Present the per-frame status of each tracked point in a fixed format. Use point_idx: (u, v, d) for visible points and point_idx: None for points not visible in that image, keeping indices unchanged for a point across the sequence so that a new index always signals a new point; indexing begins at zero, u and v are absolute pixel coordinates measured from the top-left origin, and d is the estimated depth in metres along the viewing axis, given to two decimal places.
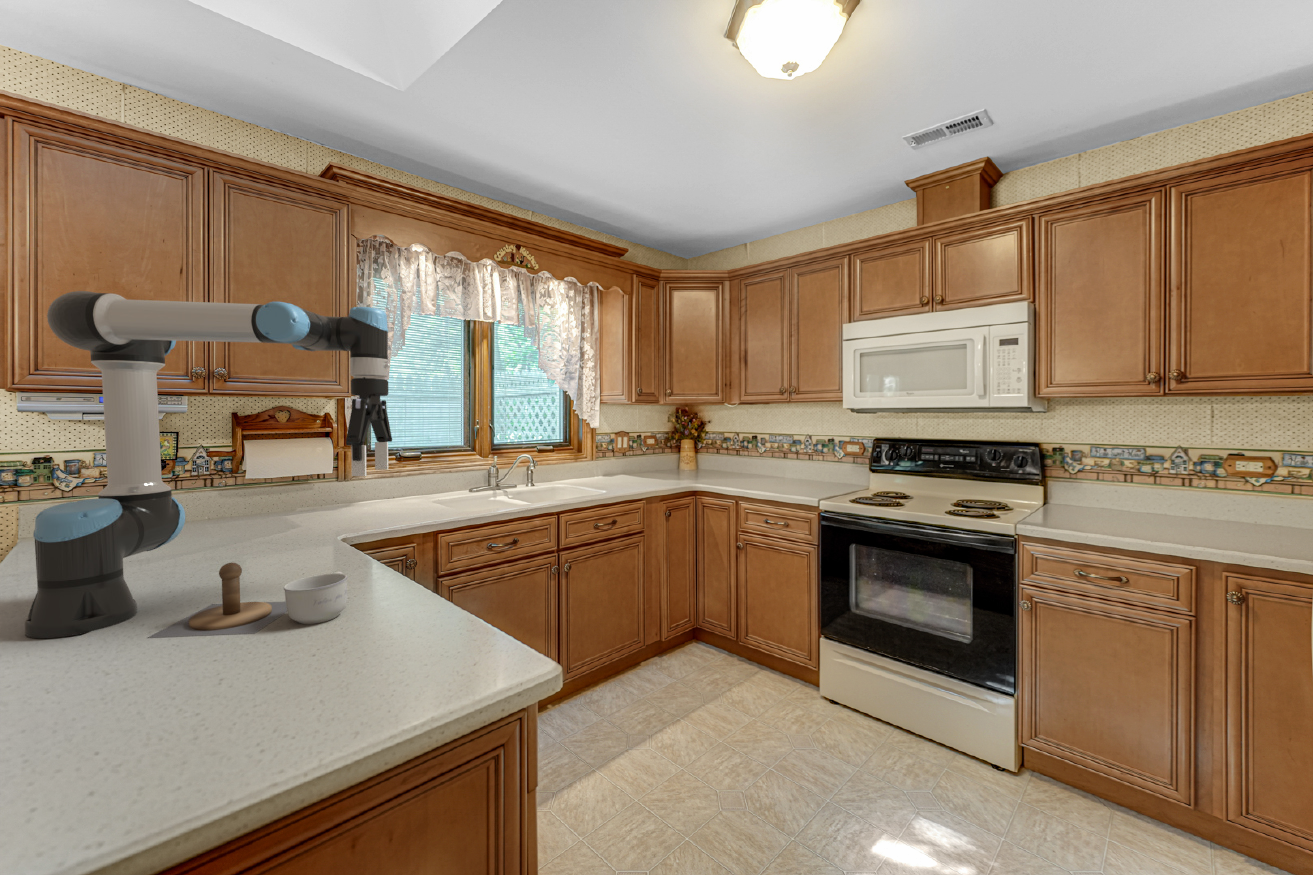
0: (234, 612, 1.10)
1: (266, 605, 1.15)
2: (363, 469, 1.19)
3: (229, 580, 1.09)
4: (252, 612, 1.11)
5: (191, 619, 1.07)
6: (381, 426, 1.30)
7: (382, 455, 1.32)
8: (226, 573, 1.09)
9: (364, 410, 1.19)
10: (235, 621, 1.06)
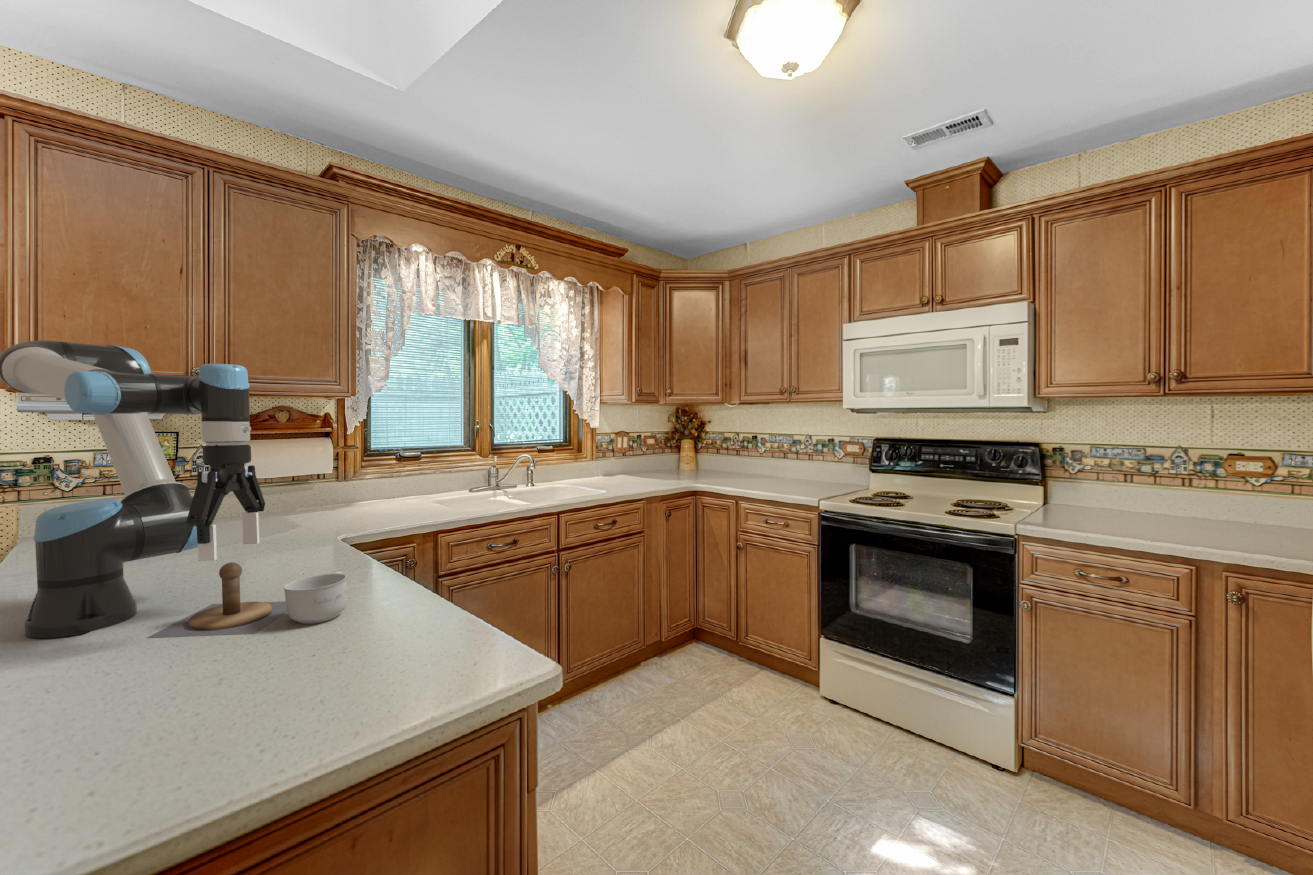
0: (234, 612, 1.10)
1: (266, 605, 1.15)
2: (212, 552, 1.03)
3: (229, 580, 1.09)
4: (252, 611, 1.11)
5: (191, 619, 1.07)
6: (246, 496, 1.14)
7: (251, 527, 1.16)
8: (226, 573, 1.09)
9: (213, 485, 1.03)
10: (235, 621, 1.06)
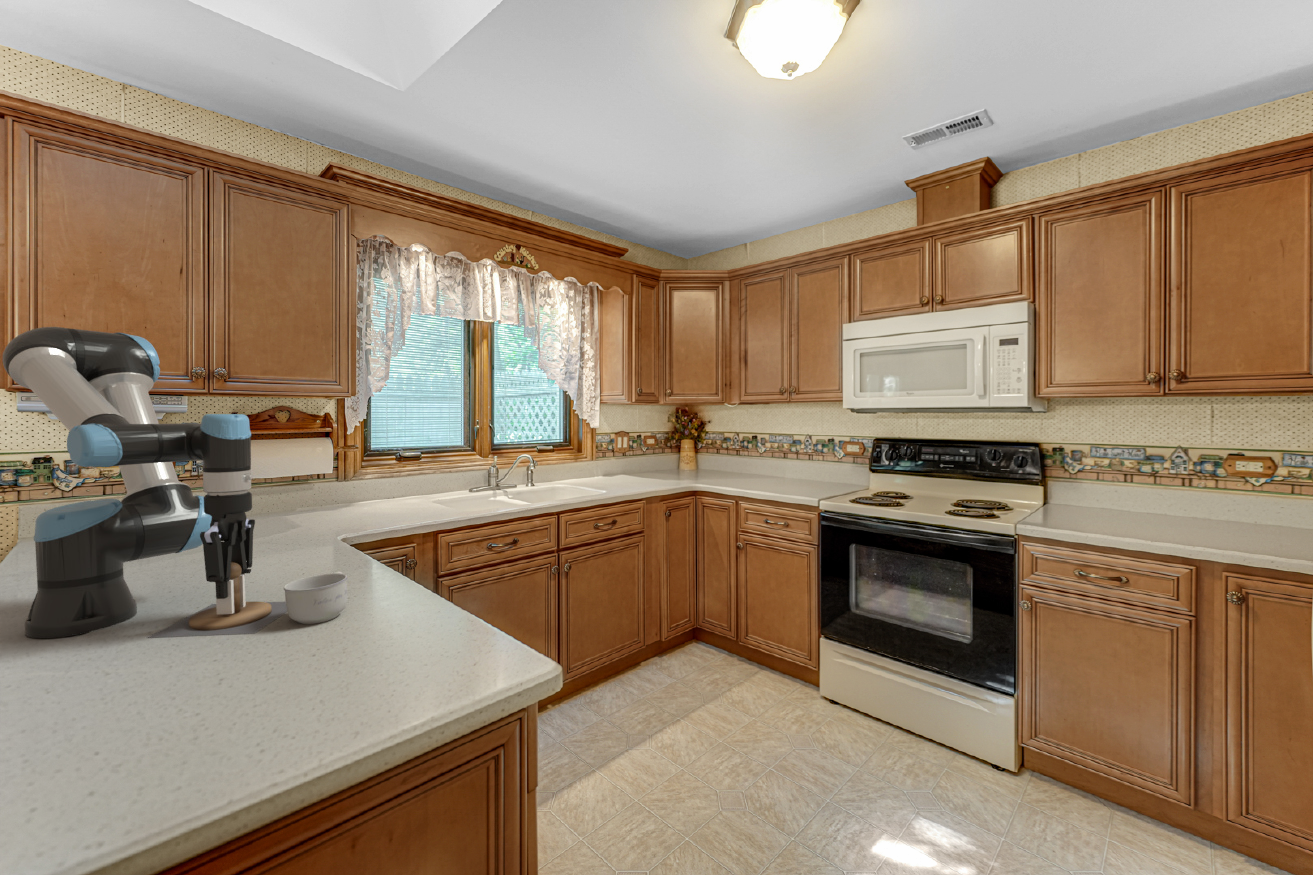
0: (234, 612, 1.10)
1: (266, 605, 1.15)
2: (230, 606, 1.09)
3: None
4: (252, 611, 1.11)
5: (191, 619, 1.07)
6: (238, 550, 1.12)
7: None
8: None
9: (219, 543, 1.05)
10: (235, 621, 1.06)
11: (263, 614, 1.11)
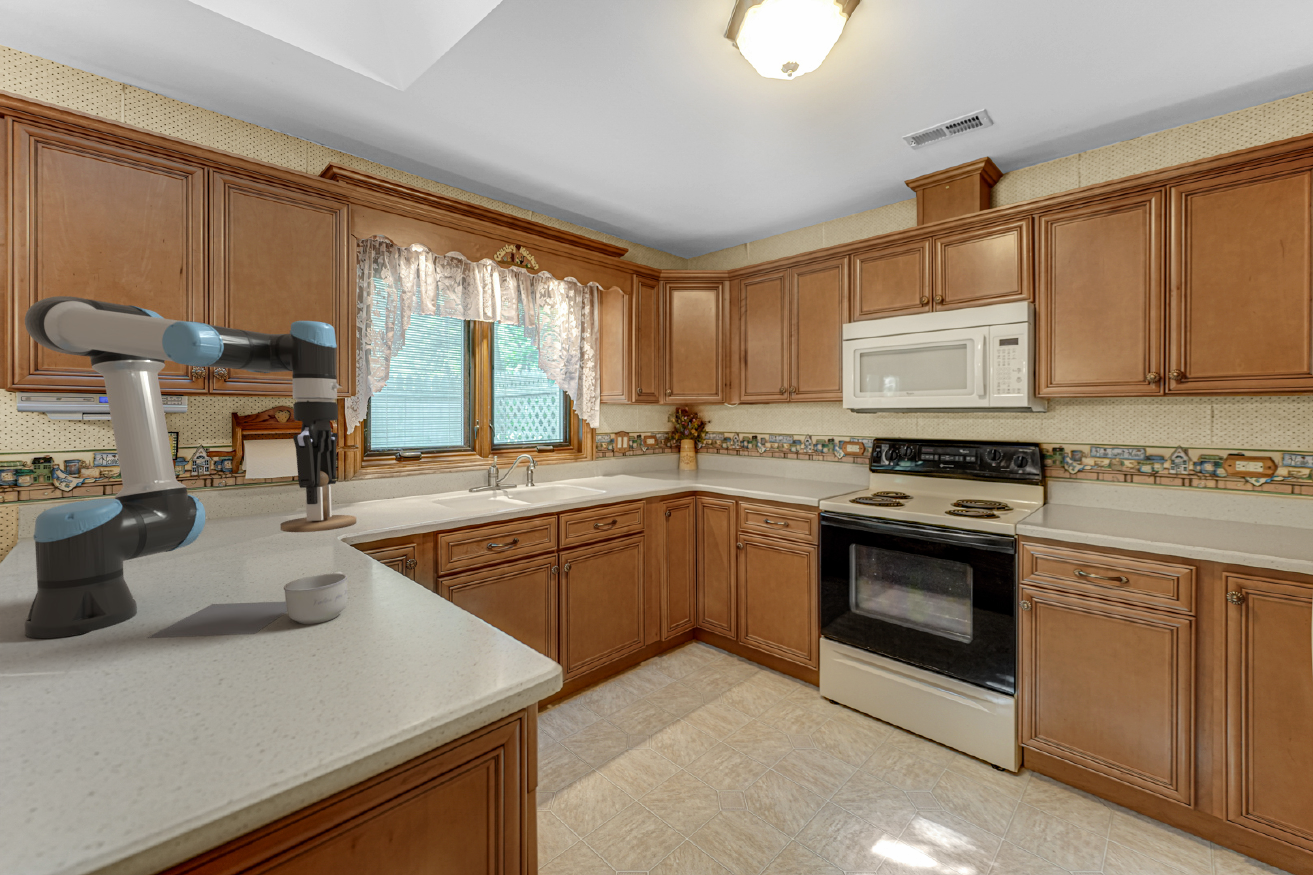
0: None
1: (350, 516, 1.16)
2: (320, 512, 1.10)
3: None
4: (339, 520, 1.12)
5: (282, 524, 1.08)
6: (325, 460, 1.13)
7: None
8: None
9: (310, 447, 1.06)
10: (326, 525, 1.07)
11: (351, 522, 1.12)
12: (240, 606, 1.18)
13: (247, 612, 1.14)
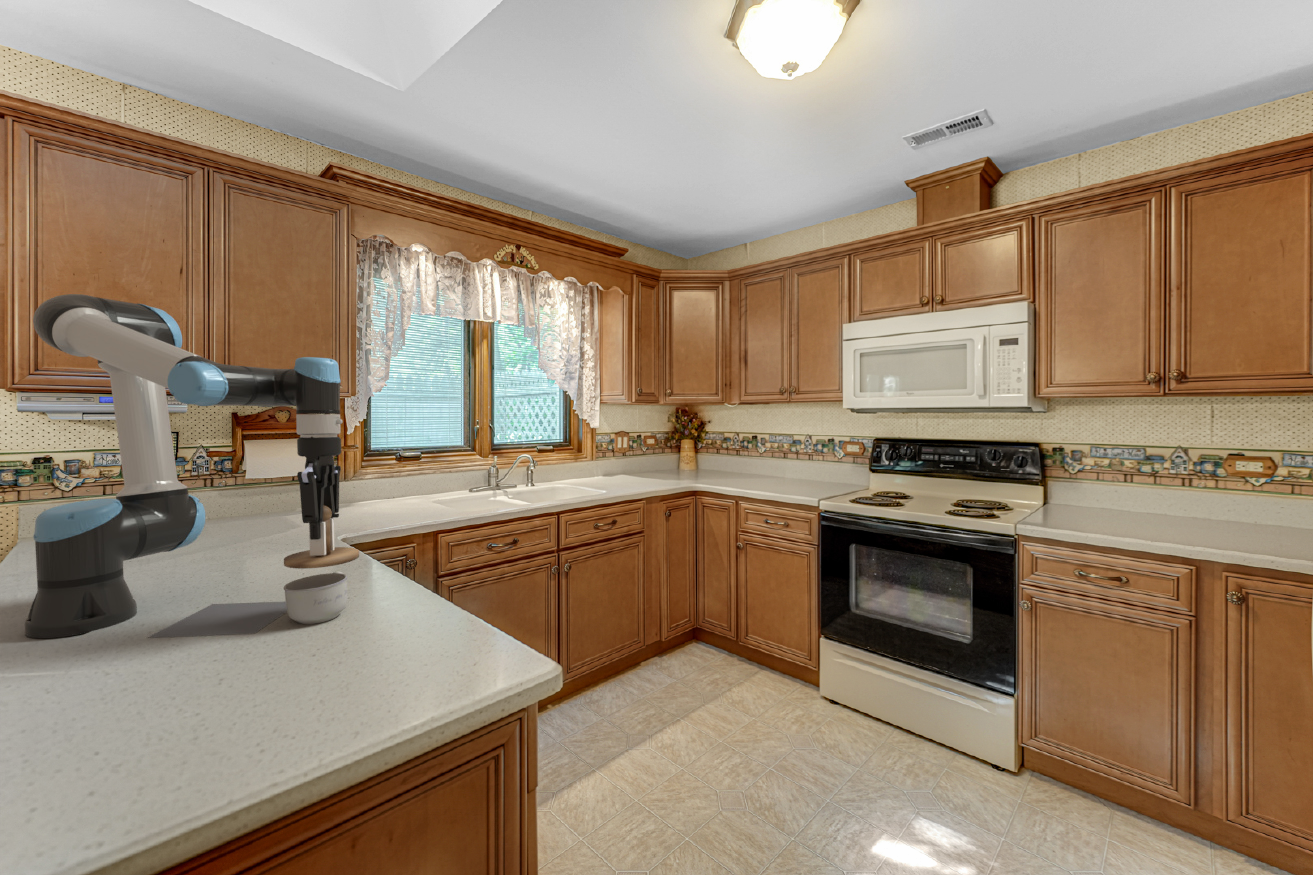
0: None
1: (353, 549, 1.17)
2: (323, 547, 1.10)
3: None
4: (342, 554, 1.13)
5: (285, 559, 1.09)
6: (328, 494, 1.14)
7: None
8: None
9: (314, 483, 1.07)
10: (330, 560, 1.08)
11: (354, 556, 1.12)
12: (240, 606, 1.18)
13: (247, 612, 1.14)
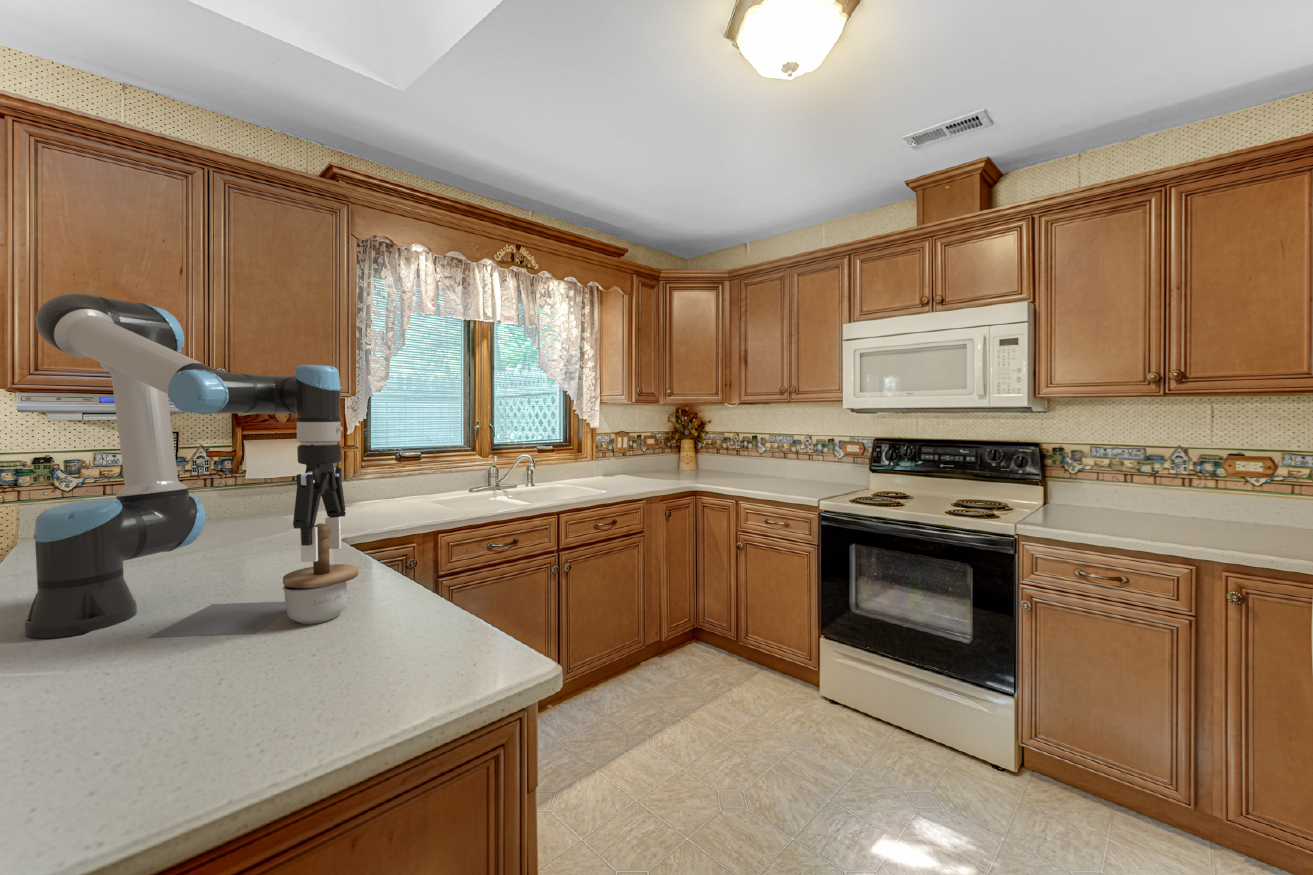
0: (325, 572, 1.11)
1: (352, 567, 1.17)
2: (314, 553, 1.07)
3: (321, 540, 1.11)
4: (341, 572, 1.13)
5: (285, 578, 1.09)
6: (332, 498, 1.15)
7: (333, 532, 1.17)
8: (318, 533, 1.10)
9: (312, 487, 1.06)
10: (329, 579, 1.08)
11: (353, 574, 1.12)
12: (240, 606, 1.18)
13: (247, 612, 1.14)
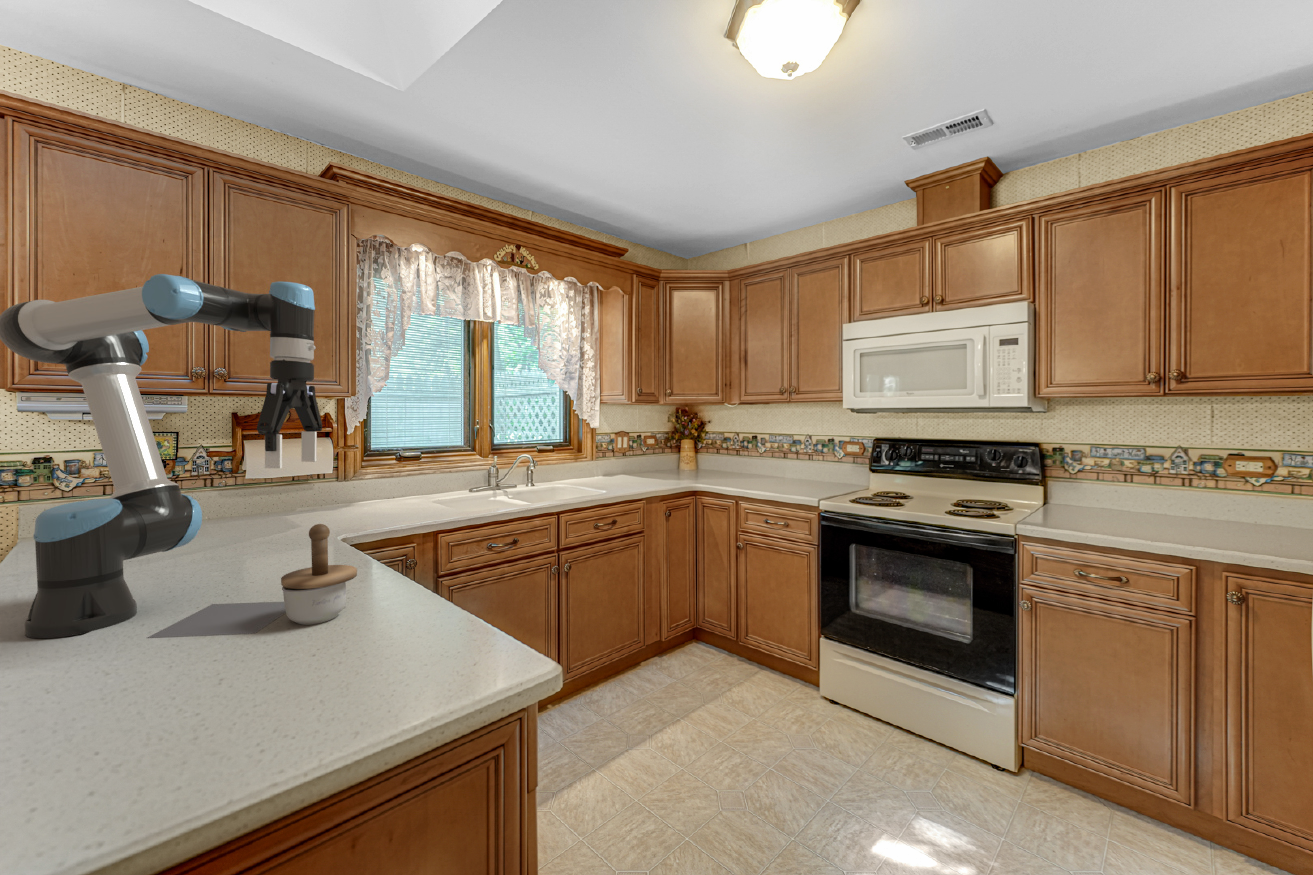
0: (323, 573, 1.11)
1: (351, 567, 1.16)
2: (278, 460, 1.08)
3: (319, 541, 1.10)
4: (340, 573, 1.12)
5: (283, 579, 1.08)
6: (307, 414, 1.19)
7: (309, 446, 1.21)
8: (316, 533, 1.10)
9: (281, 396, 1.08)
10: (328, 580, 1.08)
11: (352, 575, 1.12)
12: (240, 606, 1.18)
13: (247, 612, 1.14)
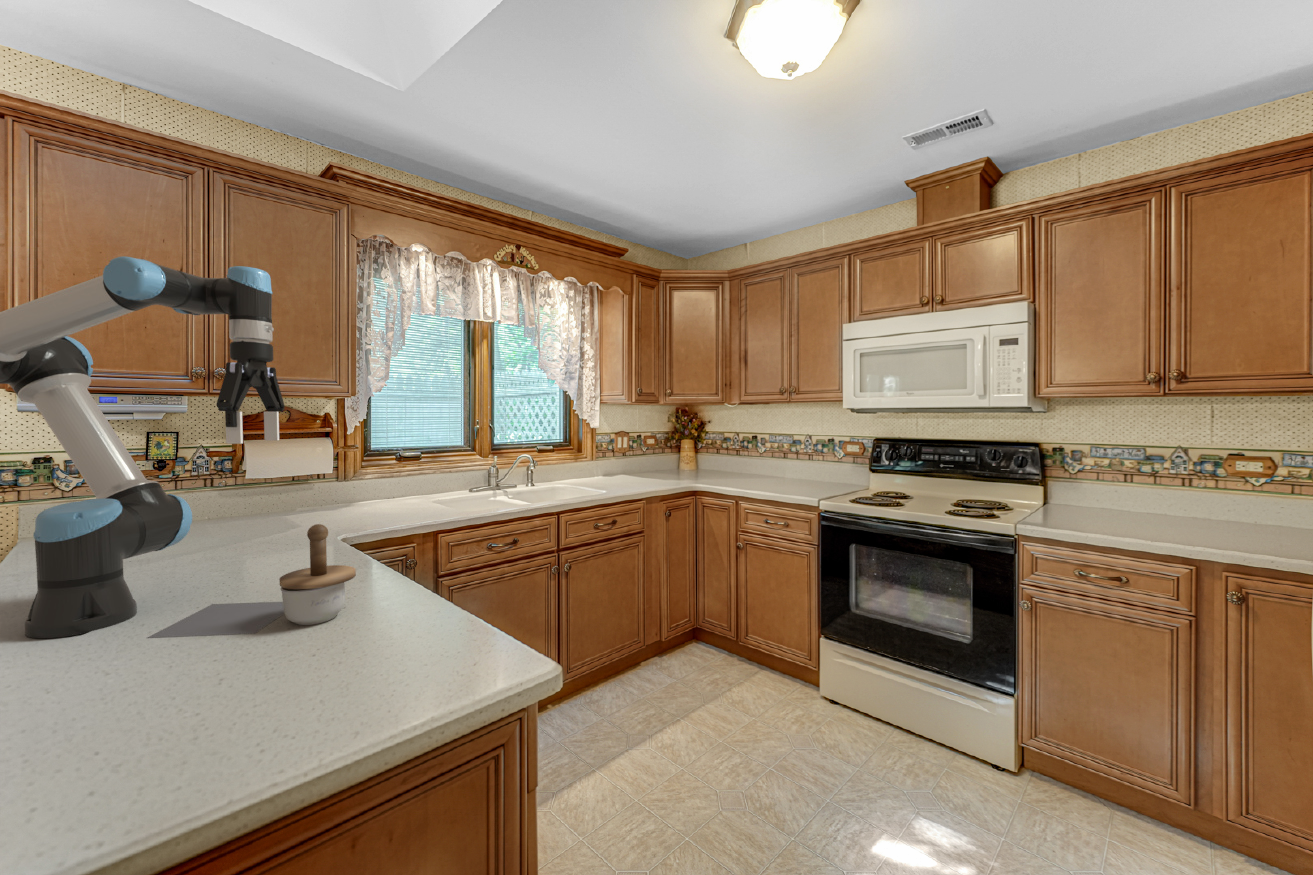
0: (322, 573, 1.11)
1: (349, 568, 1.16)
2: (239, 436, 1.13)
3: (318, 541, 1.10)
4: (339, 573, 1.12)
5: (281, 579, 1.08)
6: (268, 394, 1.24)
7: (272, 425, 1.26)
8: (315, 534, 1.09)
9: (240, 375, 1.13)
10: (327, 580, 1.07)
11: (351, 575, 1.11)
12: (240, 606, 1.18)
13: (247, 612, 1.14)
